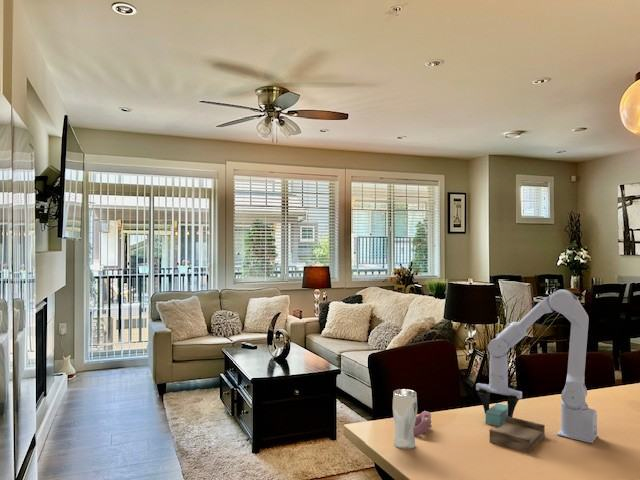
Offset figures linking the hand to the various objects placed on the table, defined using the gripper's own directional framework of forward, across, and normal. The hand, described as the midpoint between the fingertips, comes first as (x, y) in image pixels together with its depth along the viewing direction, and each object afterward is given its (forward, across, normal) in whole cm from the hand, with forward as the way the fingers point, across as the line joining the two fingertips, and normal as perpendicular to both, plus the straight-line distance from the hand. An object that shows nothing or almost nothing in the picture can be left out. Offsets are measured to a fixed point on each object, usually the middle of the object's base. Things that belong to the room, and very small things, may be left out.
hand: (498, 415), depth 155 cm
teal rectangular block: (+2, 0, 0) cm, 2 cm away
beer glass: (+2, -13, -38) cm, 40 cm away
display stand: (+1, +10, -12) cm, 16 cm away
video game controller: (+2, -14, -25) cm, 29 cm away
